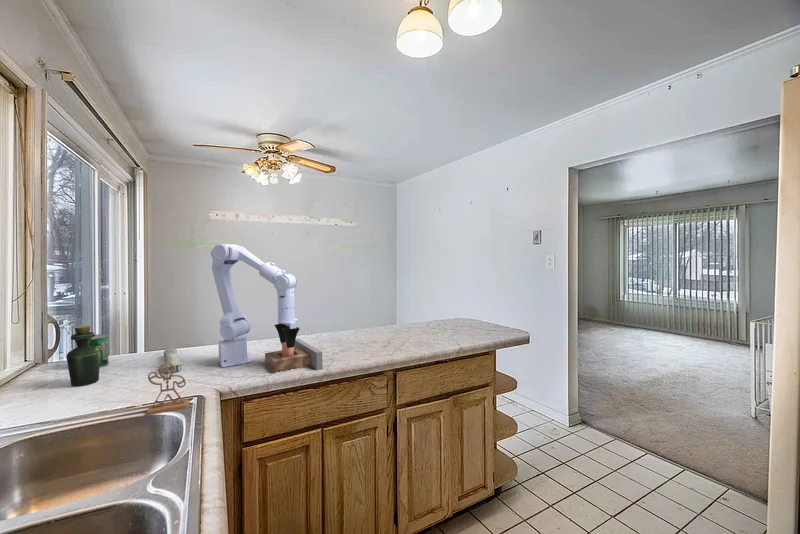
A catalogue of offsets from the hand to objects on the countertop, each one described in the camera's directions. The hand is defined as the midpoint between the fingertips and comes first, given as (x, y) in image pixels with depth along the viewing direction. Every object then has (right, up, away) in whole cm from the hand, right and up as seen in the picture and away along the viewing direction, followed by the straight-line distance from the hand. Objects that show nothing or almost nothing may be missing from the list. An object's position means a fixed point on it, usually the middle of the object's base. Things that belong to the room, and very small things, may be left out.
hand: (287, 345), depth 125 cm
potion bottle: (-59, -9, -15) cm, 62 cm away
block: (0, -7, 0) cm, 7 cm away
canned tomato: (-71, -9, +3) cm, 72 cm away
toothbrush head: (-44, -8, +4) cm, 45 cm away
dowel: (0, -7, 0) cm, 7 cm away
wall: (+6, -7, +4) cm, 10 cm away
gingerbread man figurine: (-20, -9, -34) cm, 41 cm away
